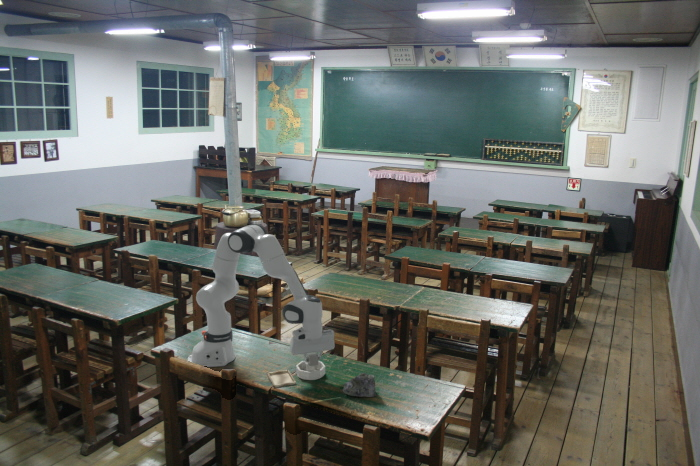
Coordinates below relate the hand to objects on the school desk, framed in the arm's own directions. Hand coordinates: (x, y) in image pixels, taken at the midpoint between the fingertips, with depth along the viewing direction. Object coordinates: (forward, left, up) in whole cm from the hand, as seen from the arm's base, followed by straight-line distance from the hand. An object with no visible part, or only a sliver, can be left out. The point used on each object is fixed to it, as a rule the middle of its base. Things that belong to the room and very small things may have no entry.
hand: (312, 360), depth 247 cm
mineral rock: (+15, -22, -8) cm, 27 cm away
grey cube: (0, +5, -7) cm, 9 cm away
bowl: (0, +3, -8) cm, 9 cm away
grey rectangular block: (0, 0, -2) cm, 2 cm away
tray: (-14, +2, -8) cm, 16 cm away
